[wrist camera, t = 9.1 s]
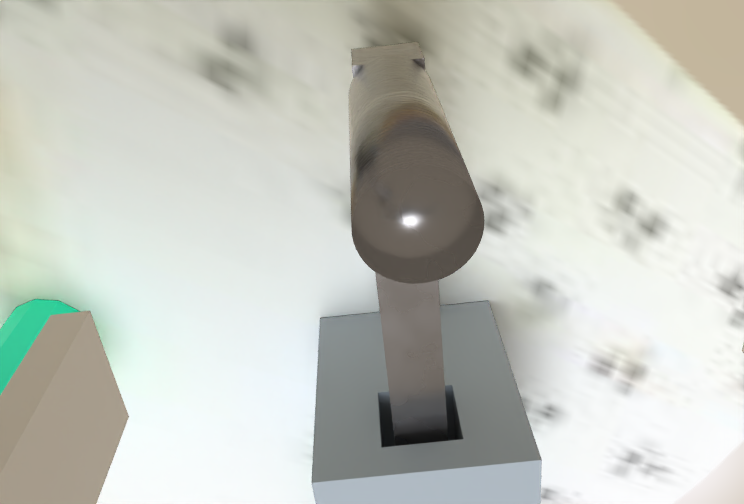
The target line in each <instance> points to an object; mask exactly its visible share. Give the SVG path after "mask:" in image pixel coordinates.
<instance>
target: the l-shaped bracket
mask: <svg viewBox="0 0 744 504" xmlns="http://www.w3.org/2000/svg"><path fill="white" fill-rule="evenodd" d="M351 56H352V71H353V80H352V82H351V85H350V89H349V134H350V178H351V222H352V237H353V241H354V244H355V247H356V250H357V251H358V253H359V255H360V257H361V258H362V259H363V261H364V262H365V263H366V264H367V265H368V266H369V267H370V268H371V269H372V270H374V271H375V272H376V281H377V290H378V299H379V307H380V316H381V325H382V334H383V342H384V351H385V360H386V369H387V377H388V386H389V395H390V404H391V412H392V421H393V430H394V439H395V446H401V445H411V444H421V443H431V442H441V441H448V429H447V413H446V397H445V381H444V365H443V349H442V333H441V316H440V300H439V284H438V280H439V279H442V278H444V277H447V276H448V275H450V274H452V273H454V272H455V271H457V270H458V269H460V268H461V267H462V266H463V265H464V264H465V263H467V261H468V260H469V259H470V258H471V257H472V256H473V254H474V253H475V251H476V250H477V248H478V246H479V244H480V241H481V238H482V235H483V230H484V212H483V208H482V205H481V202H480V200H479V197H478V195H477V192H476V190H475V188H474V185H473V183H472V180H471V178H470V175H469V173H468V170H467V168H466V165H465V163H464V161H463V158H462V156H461V153H460V151H459V148H458V146H457V143H456V141H455V138H454V136H453V134H452V131H451V129H450V126H449V124H448V121H447V119H446V116H445V114H444V111H443V109H442V107H441V104H440V102H439V99H438V97H437V94H436V92H435V89H434V87H433V84H432V82H431V80H430V77H429V75H428V74H427V72H426V71H425V60H424V56H423V54H422V51H421V49H420V46H419V44H418V42H411V43H402V44H393V45H384V46H375V47H366V48H357V49H351Z"/></svg>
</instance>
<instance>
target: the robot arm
mask: <svg viewBox="0 0 744 504" xmlns="http://www.w3.org/2000/svg"><path fill="white" fill-rule="evenodd" d="M742 352H743V353H744V344H743V349H742ZM128 417H129V416H128V413H127V410H126V408H125V405H124V402H123V400H122V397H121V394H120V391H119V389H118V386H117V383H116V381H115V378H114V375H113V372H112V370H111V367H110V364H109V361H108V359H107V356H106V353H105V351H104V348H103V345H102V342H101V340H100V337H99V334H98V332H97V329H96V326H95V323H94V321H93V318H92V315H91V312H90V311H83V312H74V313H65V314H56V315H51V316H50V317H49V319H48V320H47V322H46V324H45V325H44V327H43V328H42V330H41V332H40V333H39V335H38V336H37V338H36V339H35V341H34V343H33V344H32V346H31V347H30V349H29V351H28V352H27V354H26V355H25V357H24V359H23V360H22V362H21V363H20V365H19V366H18V368H17V370H16V371H15V373H14V374H13V376H12V378H11V379H10V381H9V382H8V384H7V386H6V387H5V389H4V390H3V392H2V393H1V395H0V504H96V503H97V500H98V497H99V495H100V492H101V489H102V487H103V484H104V481H105V479H106V476H107V473H108V471H109V468H110V465H111V463H112V460H113V457H114V455H115V452H116V449H117V447H118V444H119V441H120V439H121V436H122V433H123V431H124V428H125V425H126V423H127V420H128Z"/></svg>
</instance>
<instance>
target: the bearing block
mask: <svg viewBox="0 0 744 504" xmlns="http://www.w3.org/2000/svg"><path fill="white" fill-rule="evenodd" d="M440 316H441V333H442V349H443V365H444V381H445V397H446V413H447V429H448V441H441V442H431V443H421V444H411V445H401V446H395V439H394V430H393V421H392V412H391V404H390V395H389V386H388V377H387V369H386V360H385V351H384V342H383V334H382V325H381V316H380V312H375V313H366V314H356V315H346V316H337V317H327V318H320V329H319V349H318V368H317V387H316V407H315V426H314V446H313V465H312V487H313V492H314V497H315V502H316V504H540V499H541V464H542V460H541V457H540V454H539V451H538V448H537V445H536V442H535V439H534V436H533V433H532V430H531V427H530V424H529V421H528V418H527V415H526V412H525V409H524V406H523V403H522V400H521V397H520V394H519V391H518V388H517V385H516V382H515V379H514V376H513V373H512V370H511V367H510V364H509V361H508V358H507V355H506V352H505V349H504V346H503V343H502V340H501V337H500V334H499V331H498V328H497V325H496V322H495V319H494V316H493V313H492V310H491V307H490V304H489V301H481V302H472V303H462V304H452V305H443V306H440Z"/></svg>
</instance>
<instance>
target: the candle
mask: <svg viewBox="0 0 744 504" xmlns="http://www.w3.org/2000/svg"><path fill="white" fill-rule="evenodd" d="M74 312H80V311H78V310H76V309H74V308H72V307H70V306H68V305H66V304H64V303H62V302H60V301H56V300H41V299H34V300H32V301H30V302H27V303H25V304H23V305H20V306H18V307H16V309H15V310H14V311H13V313H12V314H11V315H10V317H9V318H8V319H7V321H6V322H5V323H4V325H3V326H2V328H1V329H0V395H1V393H2V392H3V390H4V389H5V387H6V386H7V384H8V382H9V381H10V379H11V378H12V376H13V374H14V373H15V371H16V370H17V368H18V366H19V365H20V363H21V362H22V360H23V359H24V357H25V355H26V354H27V352H28V351H29V349H30V347H31V346H32V344H33V343H34V341H35V339H36V338H37V336H38V335H39V333H40V332H41V330H42V328H43V327H44V325H45V324H46V322H47V320H48V319H49V317H50V316H51V315H56V314H65V313H74Z"/></svg>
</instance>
